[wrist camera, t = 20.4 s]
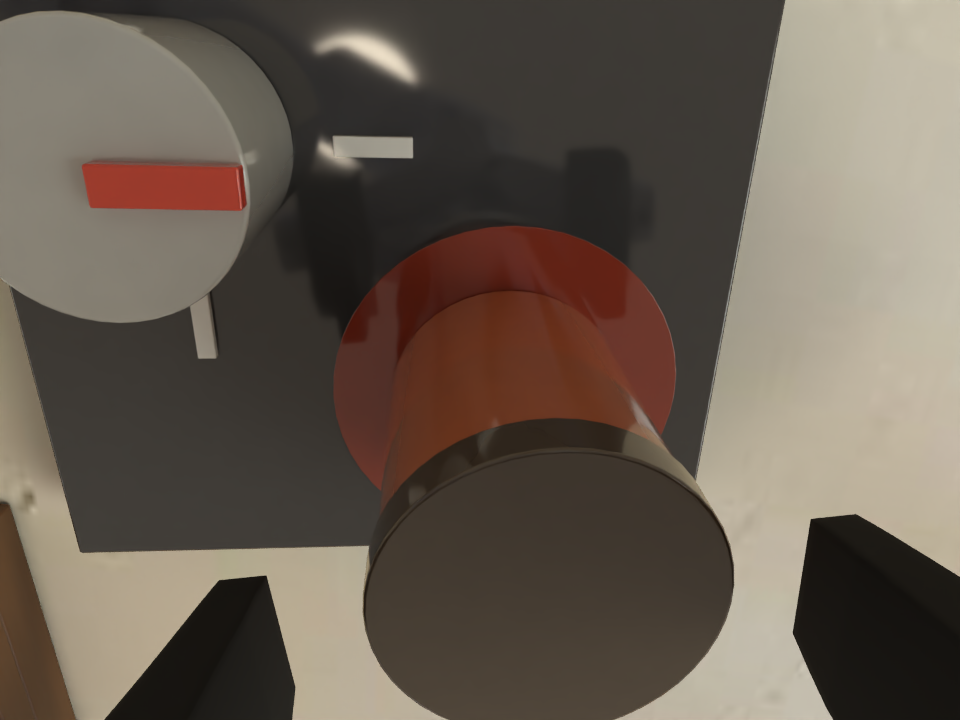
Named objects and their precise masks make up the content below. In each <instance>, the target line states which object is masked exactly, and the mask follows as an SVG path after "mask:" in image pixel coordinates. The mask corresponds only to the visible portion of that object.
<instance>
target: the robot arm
mask: <svg viewBox="0 0 960 720" xmlns="http://www.w3.org/2000/svg"><path fill="white" fill-rule="evenodd" d="M793 635H794V637H795V639H796V642H797V644H798V646H799V649H800V651H801V653H802V655H803V658H804V660H805V662H806V665H807V667H808V669H809V672H810V674H811V676H812V678H813V680H814V682H815V685H816V687H817V689H818V691H819V693H820V695H821V697H822V699H823V702H824V704H825V706H826V708H827V710H828V711H829V713H830V715H831V717H832V718H833V720H960V577H959V576H957V575H956V574H954V573H953V572H951V571H949V570H948V569H946V568H944V567H943V566H941V565H940V564H938V563H936V562H935V561H933V560H932V559H930V558H928V557H927V556H925V555H924V554H922V553H920V552H919V551H917V550H915V549H914V548H912V547H911V546H909V545H907V544H906V543H904V542H902V541H901V540H899V539H898V538H896V537H894V536H893V535H891V534H889V533H888V532H886V531H884V530H883V529H881V528H879V527H877V526H876V525H874V524H872V523H871V522H869V521H867V520H865V519H863V518H862V517H860V516H858V515H856V514H854V515H844V516H835V517H825V518H816V519H811V521H810V528H809V534H808V540H807V547H806V553H805V559H804V566H803V572H802V578H801V584H800V591H799V597H798V603H797V610H796V616H795V622H794V629H793ZM294 696H295V684H294V680H293V676H292V672H291V669H290V665H289V661H288V657H287V653H286V649H285V646H284V642H283V638H282V634H281V630H280V626H279V623H278V619H277V615H276V611H275V607H274V603H273V599H272V596H271V592H270V588H269V584H268V580H267V576H257V577H247V578H238V579H228V580H219V581H218V582H217V584H216V585H215V586H214V587H213V588H212V589H211V590H210V592H209V593H208V594H207V595H206V597H205V598H204V599H203V600H202V601H201V603H200V604H199V605H198V606H197V607H196V609H195V610H194V611H193V612H192V614H191V615H190V616H189V617H188V619H187V620H186V621H185V622H184V624H183V625H182V626H181V627H180V629H179V630H178V631H177V632H176V634H175V635H174V636H173V637H172V639H171V640H170V641H169V642H168V644H167V645H166V646H165V647H164V649H163V650H162V651H161V652H160V654H159V655H158V656H157V657H156V658H155V660H154V661H153V662H152V663H151V665H150V666H149V667H148V668H147V670H146V671H145V672H144V673H143V674H142V676H141V677H140V678H139V679H138V680H137V682H136V683H135V684H134V685H133V686H132V688H131V689H130V690H129V691H128V692H127V694H126V695H125V696H124V697H123V698H122V699H121V701H120V702H119V703H118V704H117V705H116V707H115V708H114V709H113V710H112V711H111V713H110V714H109V715H108V716H107V717H106V718H105V720H292V715H293V705H294Z"/></svg>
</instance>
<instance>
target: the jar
mask: <svg viewBox="0 0 960 720" xmlns="http://www.w3.org/2000/svg"><path fill="white" fill-rule="evenodd" d="M733 588H734V562H733V557H732V552H731V547H730V543H729V541H728V538H727V536H726V533H725V530H724V528H723V526H722V524H721V523H720V521H719V519H718V518H717V516H716V514H715V513H714V511H713V509H712V508H711V506H710V504H709V503H708V501H707V499H706V498H705V496H704V494H703V493H702V491H701V489H700V488H699V486H698V484H697V483H696V481H695V479H694V478H693V477H692V476H691V475H690V473H689V472H688V471H687V470H686V469H685V468H684V466H683V465H682V464H681V463H680V462H678V461H677V460H676V459H675V458H674V457H673V455H672V454H671V452H670V450H669V448H668V447H667V445H666V443H665V441H664V440H663V438H662V436H661V435H660V433H659V431H658V429H657V428H656V426H655V424H654V422H653V421H652V419H651V417H650V416H649V414H648V412H647V410H646V409H645V407H644V405H643V404H642V402H641V400H640V398H639V397H638V395H637V393H636V391H635V390H634V388H633V386H632V385H631V383H630V381H629V379H628V378H627V376H626V374H625V372H624V371H623V369H622V367H621V366H620V364H619V362H618V360H617V359H616V357H615V355H614V353H613V352H612V350H611V348H610V347H609V345H608V343H607V342H606V340H605V338H604V337H603V335H602V334H601V333H600V331H599V330H598V329H597V328H596V327H595V325H594V324H593V323H592V322H591V321H589V320H588V319H587V318H586V317H585V316H584V315H583V314H581V313H580V312H578V311H577V310H575V309H574V308H572V307H571V306H569V305H567V304H565V303H563V302H561V301H559V300H557V299H554V298H551V297H548V296H545V295H541V294H536V293H531V292H523V291H498V292H491V293H485V294H480V295H476V296H473V297H470V298H467V299H464V300H462V301H460V302H457V303H455V304H453V305H451V306H449V307H447V308H446V309H444V310H442V311H441V312H439V313H438V314H436V315H435V316H434V317H432V318H431V319H430V320H429V321H428V322H426V323H425V324H424V325H423V326H422V327H421V328H420V329H419V330H418V331H417V332H416V333H415V335H414V336H413V337H412V338H411V340H410V341H409V343H408V344H407V346H406V347H405V349H404V351H403V352H402V354H401V356H400V358H399V360H398V363H397V366H396V369H395V372H394V375H393V380H392V386H391V394H390V404H389V415H388V425H387V435H386V445H385V455H384V466H383V476H382V486H381V496H380V506H379V517H378V521H377V524H376V526H375V529H374V532H373V534H372V537H371V541H370V546H369V551H368V556H367V563H366V572H365V581H364V590H363V618H364V625H365V631H366V634H367V637H368V640H369V643H370V646H371V649H372V651H373V653H374V654H375V656H376V658H377V660H378V662H379V664H380V666H381V667H382V669H383V670H384V671H385V673H386V674H387V675H388V677H389V678H390V679H391V681H392V682H393V683H394V684H395V685H396V686H397V687H398V688H399V689H400V690H402V691H403V692H404V693H405V694H406V695H407V696H408V697H410V698H411V699H412V700H414V701H415V702H416V703H418V704H419V705H420V706H422V707H424V708H426V709H427V710H429V711H431V712H433V713H434V714H436V715H438V716H440V717H443V718H445V719H448V720H615V719H617V718H620V717H623V716H625V715H627V714H629V713H631V712H634V711H636V710H638V709H640V708H642V707H644V706H646V705H647V704H649V703H651V702H652V701H654V700H656V699H657V698H659V697H661V696H662V695H663V694H665V693H666V692H667V691H669V690H670V689H671V688H673V687H674V686H675V685H677V684H678V683H679V682H680V681H681V680H683V679H684V678H685V677H686V676H687V675H688V674H689V673H690V672H691V671H692V670H693V669H694V668H695V667H696V666H697V665H698V664H699V662H700V661H701V660H702V659H703V658H704V657H705V655H706V654H707V653H708V651H709V650H710V648H711V647H712V645H713V644H714V642H715V641H716V639H717V638H718V636H719V633H720V631H721V629H722V627H723V625H724V623H725V621H726V618H727V615H728V612H729V609H730V605H731V602H732V595H733Z"/></svg>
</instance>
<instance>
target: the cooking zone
mask: <svg viewBox="0 0 960 720" xmlns="http://www.w3.org/2000/svg"><path fill="white" fill-rule="evenodd" d="M498 291H523V292H531V293H536V294H541V295H545V296H548V297H551V298H554V299H557V300H559V301H561V302H563V303H565V304H567V305H569V306H571V307H572V308H574V309H575V310H577V311H578V312H580V313H581V314H583V315H584V316H585V317H586V318H587V319H588V320H589V321H591V322H592V323H593V324H594V325H595V327H596V328H597V329H598V330H599V331H600V333H601V334H602V335H603V337H604V338H605V340H606V342H607V343H608V345H609V347H610V348H611V350H612V352H613V353H614V355H615V357H616V359H617V360H618V362H619V364H620V366H621V367H622V369H623V371H624V372H625V374H626V376H627V378H628V379H629V381H630V383H631V385H632V386H633V388H634V390H635V391H636V393H637V395H638V397H639V398H640V400H641V402H642V404H643V405H644V407H645V409H646V410H647V412H648V414H649V416H650V417H651V419H652V421H653V422H654V424H655V426H656V428H657V429H658V431H659V433H660V435H661V434H662V432H663V429H664V427H665V424H666V422H667V419H668V416H669V414H670V410H671V405H672V401H673V397H674V391H675V380H676V365H675V352H674V347H673V342H672V338H671V333H670V331H669V328H668V325H667V323H666V320H665V317H664V315H663V313H662V311H661V309H660V307H659V306H658V304H657V302H656V300H655V298H654V297H653V295H652V294H651V293H650V291H649V290H648V289H647V288H646V286H645V285H644V284H643V282H642V281H641V280H640V279H639V278H638V277H637V276H636V275H635V274H634V273H633V272H632V271H631V270H630V269H629V268H628V267H627V266H626V265H625V264H624V263H622V262H621V261H620V260H618V259H617V258H615V257H614V256H613V255H611V254H610V253H608V252H607V251H606V250H604V249H602V248H600V247H598V246H596V245H594V244H592V243H590V242H588V241H587V240H584V239H582V238H579V237H576V236H573V235H570V234H568V233H565V232H562V231H557V230H552V229H547V228H542V227H535V226H522V225H505V226H489V227H484V228H478V229H473V230H468V231H464V232H460V233H457V234H454V235H451V236H448V237H445V238H442V239H440V240H438V241H436V242H433V243H431V244H429V245H427V246H425V247H423V248H421V249H419V250H417V251H416V252H414V253H413V254H411V255H410V256H408V257H406V258H405V259H403V260H402V261H400V262H399V263H398V264H396V265H395V266H394V267H393V268H392V269H391V270H389V271H388V272H387V273H386V274H385V275H384V276H382V277H381V278H380V279H379V281H378V282H377V283H376V284H375V285H374V286H373V287H372V288H371V289H370V291H369V292H368V293H367V294H366V295H365V297H364V298H363V300H362V301H361V303H360V304H359V306H358V307H357V309H356V310H355V312H354V313H353V315H352V317H351V319H350V321H349V323H348V325H347V327H346V329H345V331H344V334H343V337H342V340H341V343H340V346H339V350H338V353H337V357H336V363H335V370H334V381H333V397H334V404H335V411H336V417H337V420H338V424H339V427H340V431H341V434H342V437H343V439H344V441H345V443H346V445H347V447H348V449H349V452H350V454H351V455H352V457H353V458H354V460H355V461H356V463H357V464H358V466H359V467H360V469H361V470H362V471H363V473H364V474H365V475H366V476H367V477H368V478H369V479H370V481H371V482H372V483H373V484H374V485H375V486H376V487H377V488H378V489H380V490H381V486H382V476H383V466H384V455H385V445H386V435H387V425H388V415H389V404H390V394H391V386H392V380H393V375H394V372H395V369H396V366H397V363H398V360H399V358H400V356H401V354H402V352H403V351H404V349H405V347H406V346H407V344H408V343H409V341H410V340H411V338H412V337H413V336H414V335H415V333H416V332H417V331H418V330H419V329H420V328H421V327H422V326H423V325H424V324H425V323H426V322H428V321H429V320H430V319H431V318H432V317H434V316H435V315H436V314H438V313H439V312H441V311H442V310H444V309H446V308H447V307H449V306H451V305H453V304H455V303H457V302H460V301H462V300H464V299H467V298H470V297H473V296H476V295H480V294H485V293H491V292H498Z"/></svg>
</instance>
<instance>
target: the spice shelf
mask: <svg viewBox="0 0 960 720" xmlns="http://www.w3.org/2000/svg"><path fill="white" fill-rule="evenodd" d="M0 720H76V719H75V716H74V712H73V709H72V706H71V703H70V699H69V696H68V693H67V690H66V686H65V683H64V680H63V677H62V673H61V670H60V667H59V664H58V661H57V657H56V654H55V651H54V648H53V644H52V641H51V638H50V635H49V631H48V628H47V625H46V622H45V618H44V615H43V612H42V609H41V605H40V602H39V599H38V596H37V593H36V589H35V586H34V583H33V580H32V576H31V573H30V570H29V567H28V563H27V560H26V557H25V554H24V550H23V547H22V544H21V541H20V538H19V534H18V531H17V528H16V525H15V521H14V518H13V515H12V512H11V508H10V506H9V505H8V504H0Z"/></svg>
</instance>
